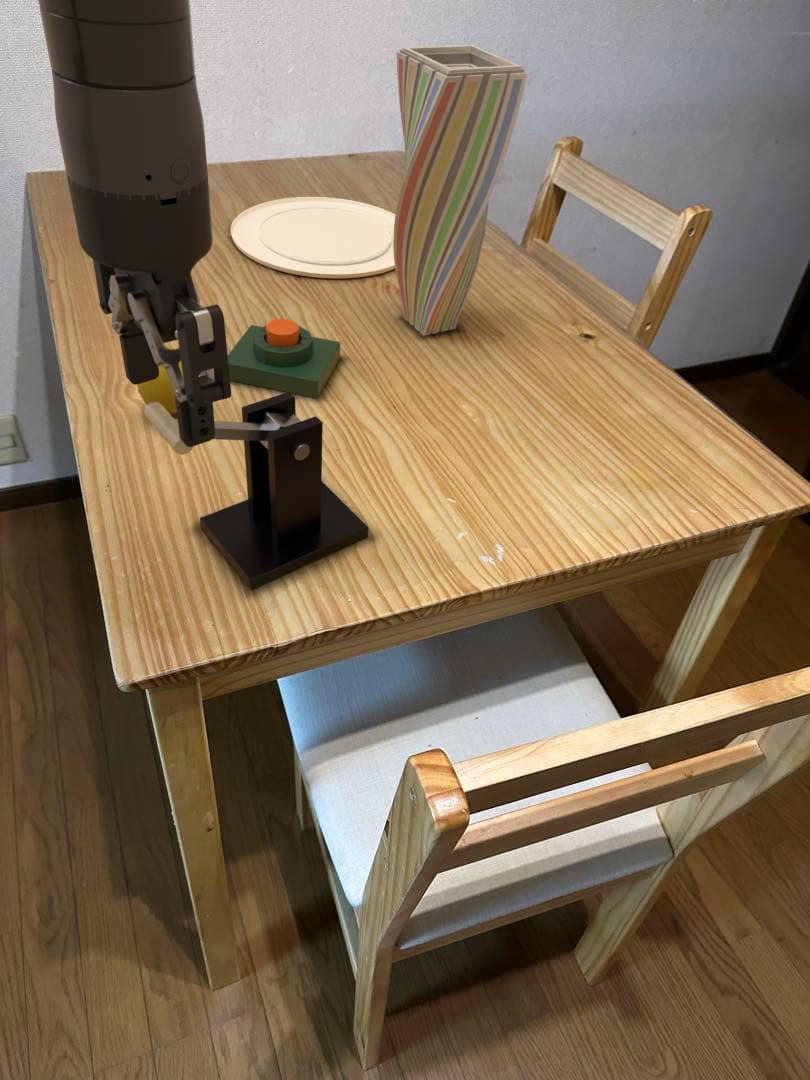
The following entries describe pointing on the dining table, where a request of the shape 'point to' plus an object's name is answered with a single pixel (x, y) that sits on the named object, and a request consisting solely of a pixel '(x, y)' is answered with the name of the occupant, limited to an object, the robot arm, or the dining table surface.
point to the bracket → (282, 503)
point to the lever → (217, 427)
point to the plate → (317, 237)
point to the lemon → (160, 390)
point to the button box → (284, 362)
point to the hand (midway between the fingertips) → (170, 409)
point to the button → (282, 333)
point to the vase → (448, 172)
